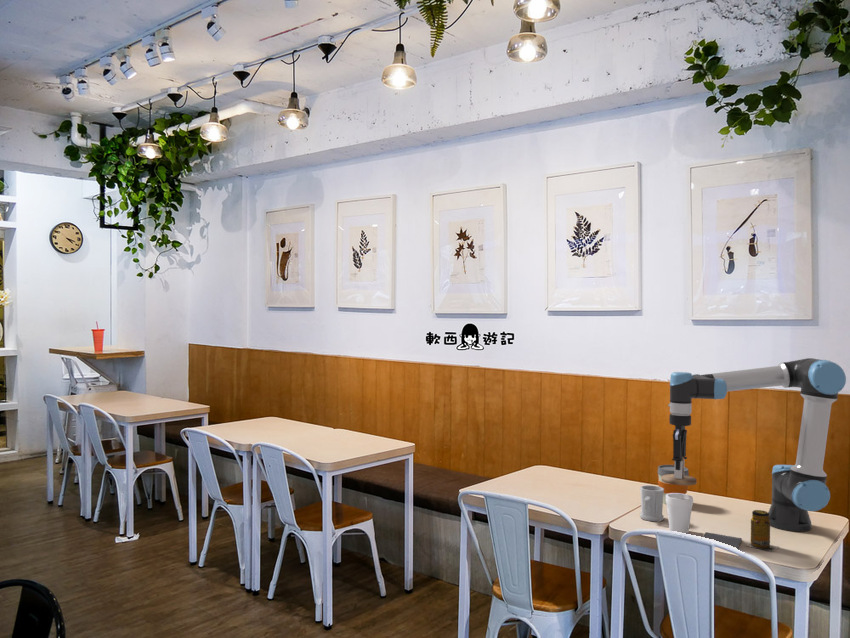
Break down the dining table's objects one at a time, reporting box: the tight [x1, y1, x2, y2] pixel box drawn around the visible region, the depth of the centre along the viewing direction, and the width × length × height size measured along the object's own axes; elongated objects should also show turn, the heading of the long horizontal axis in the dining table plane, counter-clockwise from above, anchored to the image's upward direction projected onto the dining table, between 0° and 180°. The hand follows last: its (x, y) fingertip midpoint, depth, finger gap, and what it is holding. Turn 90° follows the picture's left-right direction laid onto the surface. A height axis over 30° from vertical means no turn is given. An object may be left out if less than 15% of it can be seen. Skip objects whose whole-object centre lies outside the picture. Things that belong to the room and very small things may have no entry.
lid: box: [662, 457, 697, 486], centre depth 249 cm, size 12×12×9 cm
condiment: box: [746, 509, 779, 552], centre depth 234 cm, size 7×8×12 cm
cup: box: [639, 484, 664, 522], centre depth 264 cm, size 10×9×12 cm
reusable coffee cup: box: [657, 464, 690, 506], centre depth 287 cm, size 13×13×15 cm
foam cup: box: [666, 493, 694, 534], centre depth 249 cm, size 10×9×13 cm
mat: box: [702, 531, 743, 549], centre depth 238 cm, size 12×12×1 cm
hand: (679, 477), depth 249 cm, fingers closed on lid, 3 cm apart
